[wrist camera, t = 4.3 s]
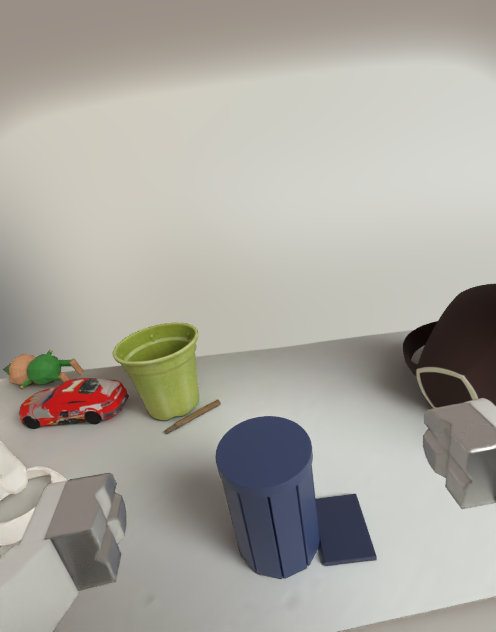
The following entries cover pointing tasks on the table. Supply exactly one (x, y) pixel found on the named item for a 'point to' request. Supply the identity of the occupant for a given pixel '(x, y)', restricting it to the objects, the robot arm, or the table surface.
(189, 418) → the stick
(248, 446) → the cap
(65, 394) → the race car
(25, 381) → the figurine
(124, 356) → the plant pot
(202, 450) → the table surface
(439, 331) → the mug
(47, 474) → the hook
